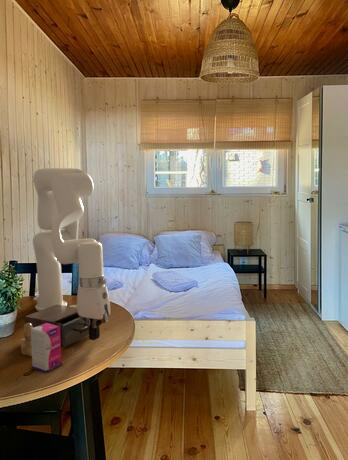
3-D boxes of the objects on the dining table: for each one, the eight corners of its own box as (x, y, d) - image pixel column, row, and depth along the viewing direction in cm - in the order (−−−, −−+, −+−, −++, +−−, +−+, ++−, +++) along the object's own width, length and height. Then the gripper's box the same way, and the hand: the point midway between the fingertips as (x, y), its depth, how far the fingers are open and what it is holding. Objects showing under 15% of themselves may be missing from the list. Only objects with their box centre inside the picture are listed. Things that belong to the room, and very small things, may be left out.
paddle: (20, 354, 127) (18, 323, 125) (27, 351, 129) (25, 320, 128) (32, 357, 124) (30, 325, 123) (39, 354, 126) (37, 323, 125)
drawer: (102, 334, 139) (101, 314, 138) (75, 348, 128) (73, 327, 127) (67, 327, 146) (66, 308, 146) (38, 340, 135) (37, 320, 134)
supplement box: (46, 372, 114) (44, 332, 112) (32, 368, 117) (29, 328, 116) (62, 364, 119) (60, 325, 117) (48, 360, 122) (45, 322, 120)
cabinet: (85, 332, 143) (84, 308, 142) (54, 347, 131) (53, 321, 130) (58, 327, 149) (56, 304, 148) (26, 341, 137) (24, 316, 136)
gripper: (118, 281, 130) (120, 338, 132) (81, 277, 137) (83, 331, 139) (103, 286, 123) (106, 346, 125) (65, 282, 130) (68, 339, 132)
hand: (94, 338), depth 132 cm, fingers closed
